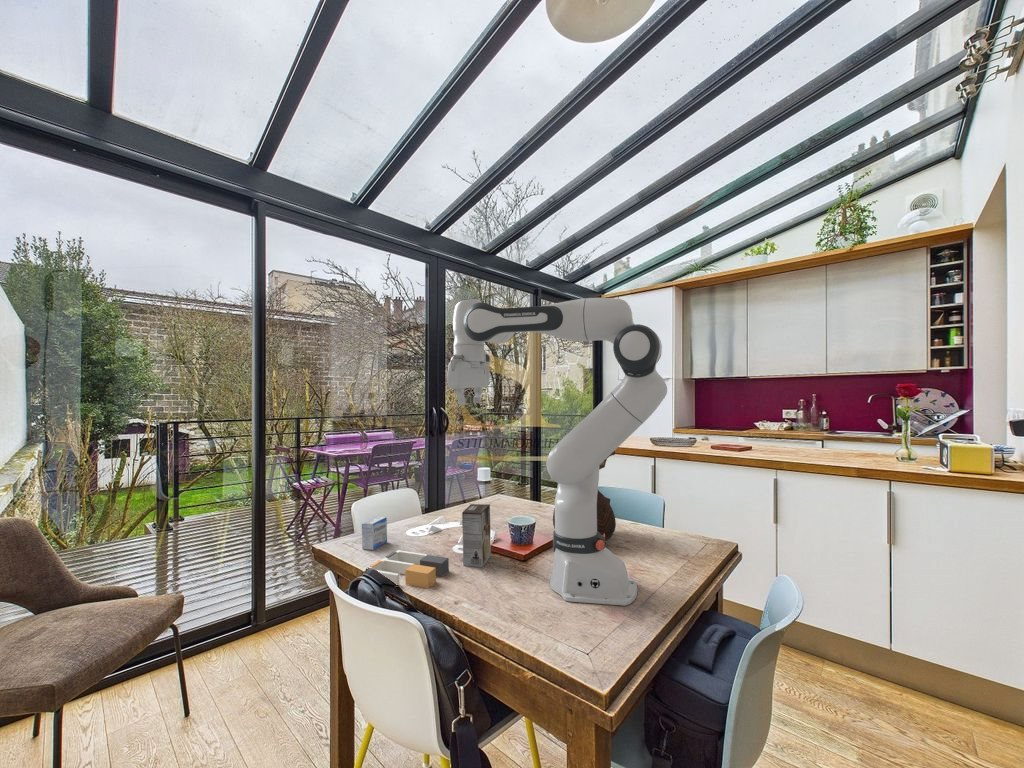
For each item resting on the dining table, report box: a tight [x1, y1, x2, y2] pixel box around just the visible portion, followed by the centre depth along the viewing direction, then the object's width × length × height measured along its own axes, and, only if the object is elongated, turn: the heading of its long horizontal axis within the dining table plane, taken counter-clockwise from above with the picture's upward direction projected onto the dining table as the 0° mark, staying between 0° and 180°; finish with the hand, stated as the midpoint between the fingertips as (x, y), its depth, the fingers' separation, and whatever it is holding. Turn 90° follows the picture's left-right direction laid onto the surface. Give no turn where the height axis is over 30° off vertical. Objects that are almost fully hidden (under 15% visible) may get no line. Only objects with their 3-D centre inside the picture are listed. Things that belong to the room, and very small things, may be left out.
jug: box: [552, 450, 617, 542], centre depth 150 cm, size 22×22×30 cm
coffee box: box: [461, 503, 492, 568], centre depth 134 cm, size 9×6×16 cm
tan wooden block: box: [404, 564, 437, 589], centre depth 119 cm, size 7×4×4 cm, turn 69°
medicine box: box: [361, 516, 388, 551], centre depth 147 cm, size 8×4×9 cm, turn 161°
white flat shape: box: [405, 515, 497, 555], centre depth 157 cm, size 35×24×3 cm
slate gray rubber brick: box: [420, 554, 450, 578], centre depth 126 cm, size 7×4×4 cm, turn 69°
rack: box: [364, 549, 428, 586], centre depth 126 cm, size 10×15×3 cm
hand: (469, 403), depth 127 cm, fingers open, 8 cm apart
